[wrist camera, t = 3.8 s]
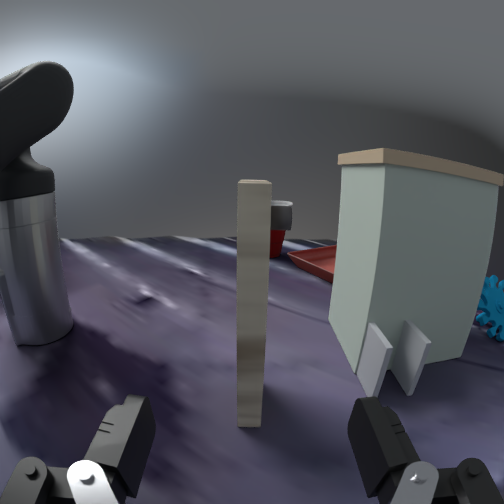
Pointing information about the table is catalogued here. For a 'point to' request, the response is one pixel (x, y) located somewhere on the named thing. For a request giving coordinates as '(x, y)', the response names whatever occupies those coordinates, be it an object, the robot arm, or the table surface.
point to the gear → (492, 307)
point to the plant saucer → (316, 261)
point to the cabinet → (409, 261)
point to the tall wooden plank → (254, 291)
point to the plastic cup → (277, 233)
